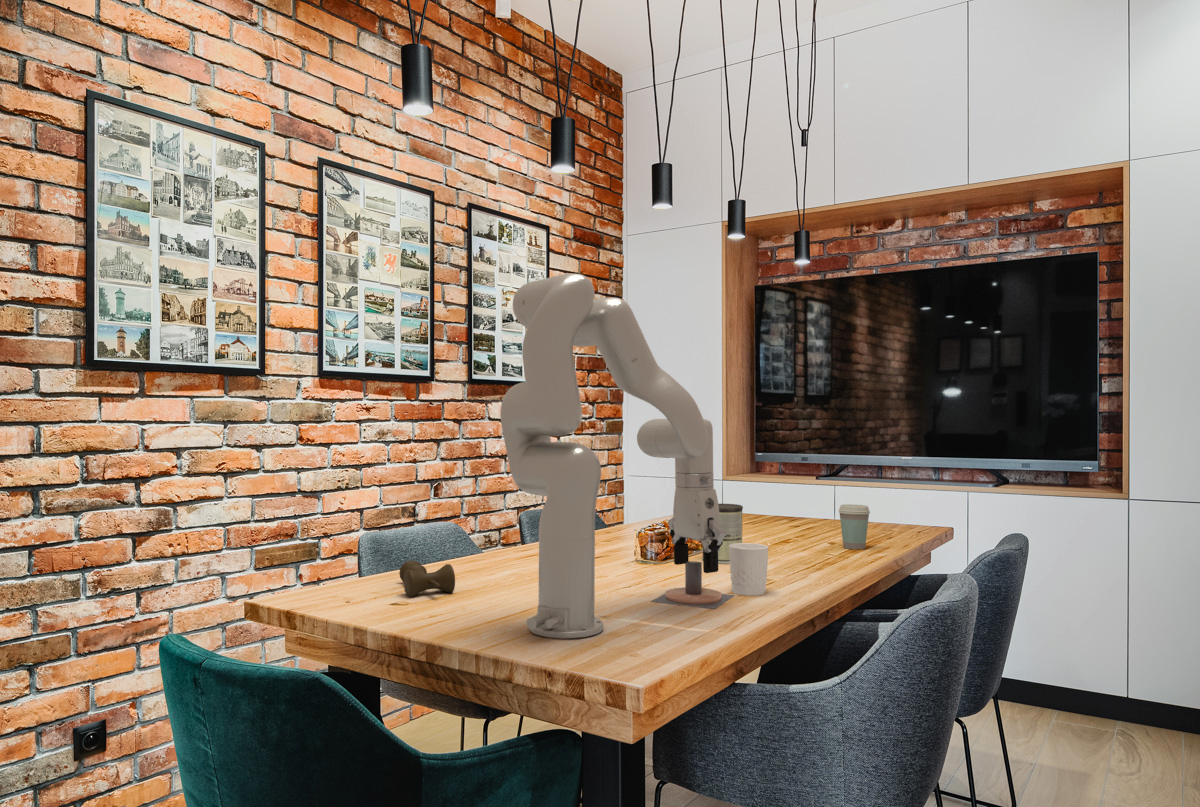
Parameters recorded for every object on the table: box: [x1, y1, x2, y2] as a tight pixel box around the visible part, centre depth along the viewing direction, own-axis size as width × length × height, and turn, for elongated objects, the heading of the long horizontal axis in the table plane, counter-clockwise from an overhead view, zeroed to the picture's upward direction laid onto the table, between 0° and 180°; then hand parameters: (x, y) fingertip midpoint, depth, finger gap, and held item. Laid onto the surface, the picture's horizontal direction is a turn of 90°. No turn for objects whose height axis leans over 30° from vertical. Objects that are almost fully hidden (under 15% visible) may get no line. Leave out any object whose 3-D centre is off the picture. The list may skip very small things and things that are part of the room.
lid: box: [665, 560, 723, 605], centre depth 153 cm, size 11×11×7 cm
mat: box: [649, 592, 736, 610], centre depth 153 cm, size 13×13×1 cm
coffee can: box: [702, 503, 744, 565], centre depth 200 cm, size 10×10×14 cm
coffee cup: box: [838, 504, 871, 551], centre depth 221 cm, size 8×8×12 cm
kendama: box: [399, 560, 456, 598], centre depth 162 cm, size 6×10×20 cm
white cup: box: [729, 542, 769, 597], centre depth 160 cm, size 8×8×10 cm
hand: (695, 567), depth 154 cm, fingers open, 9 cm apart
